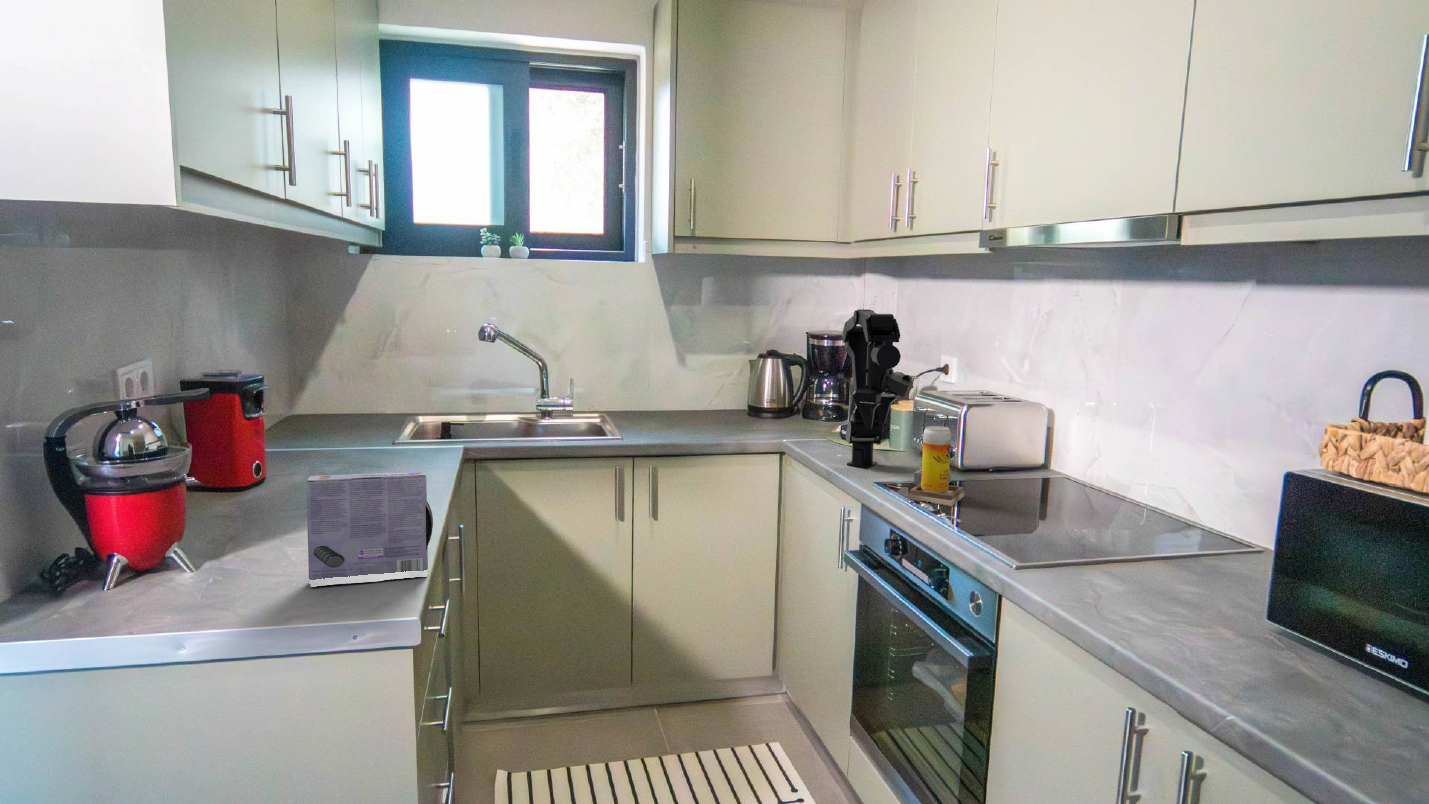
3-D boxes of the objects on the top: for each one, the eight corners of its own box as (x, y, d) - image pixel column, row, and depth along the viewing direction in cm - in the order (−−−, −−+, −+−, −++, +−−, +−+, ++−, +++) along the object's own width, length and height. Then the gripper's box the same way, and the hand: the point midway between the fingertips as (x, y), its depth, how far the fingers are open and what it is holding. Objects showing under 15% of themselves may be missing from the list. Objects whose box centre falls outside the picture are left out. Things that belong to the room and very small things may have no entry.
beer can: (944, 496, 195) (947, 431, 192) (917, 493, 198) (920, 428, 195) (950, 490, 200) (954, 427, 198) (924, 487, 203) (927, 424, 201)
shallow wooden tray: (922, 490, 205) (922, 481, 205) (964, 496, 200) (964, 487, 200) (908, 499, 197) (908, 490, 196) (951, 505, 191) (952, 496, 191)
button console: (922, 479, 217) (923, 467, 216) (950, 482, 213) (951, 470, 212) (913, 484, 211) (914, 472, 210) (942, 488, 207) (942, 476, 207)
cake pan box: (434, 568, 148) (430, 467, 146) (435, 577, 144) (431, 474, 141) (312, 579, 142) (305, 474, 140) (308, 590, 137) (302, 481, 135)
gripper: (896, 369, 202) (894, 435, 204) (922, 363, 218) (919, 424, 220) (852, 367, 207) (850, 430, 210) (880, 360, 223) (877, 420, 226)
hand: (876, 426), depth 216 cm, fingers open, 9 cm apart
